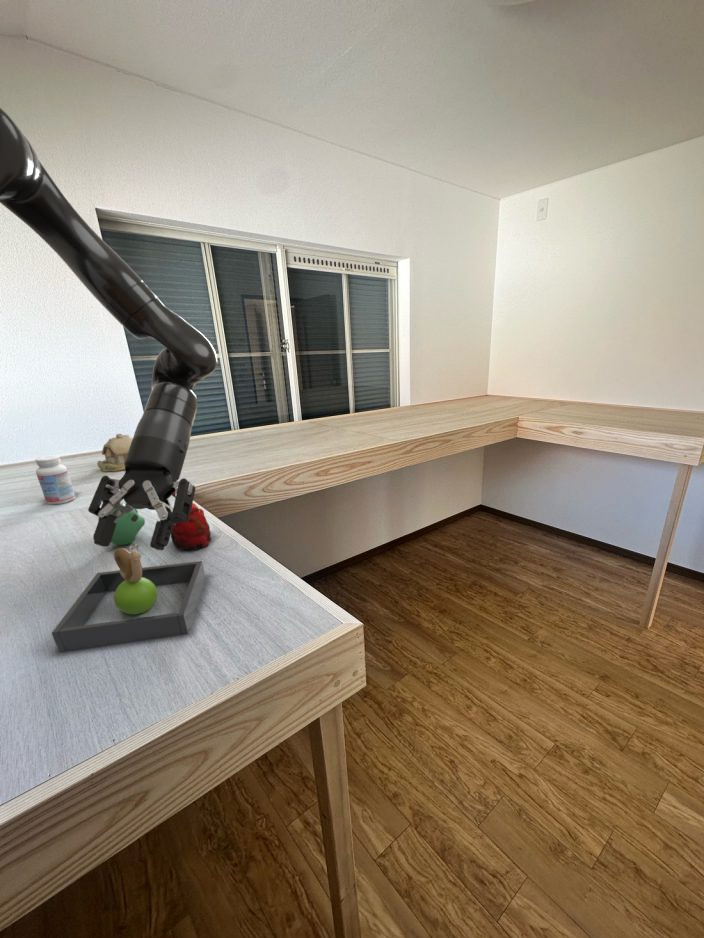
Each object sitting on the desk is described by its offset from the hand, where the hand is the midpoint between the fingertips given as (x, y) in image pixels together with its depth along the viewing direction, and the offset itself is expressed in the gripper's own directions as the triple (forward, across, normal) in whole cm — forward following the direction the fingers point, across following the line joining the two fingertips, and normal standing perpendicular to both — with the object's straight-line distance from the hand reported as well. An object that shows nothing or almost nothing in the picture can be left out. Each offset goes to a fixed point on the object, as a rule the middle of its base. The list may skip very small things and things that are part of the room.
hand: (128, 547), depth 58 cm
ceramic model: (-41, -55, +56) cm, 89 cm away
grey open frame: (+8, 0, +7) cm, 11 cm away
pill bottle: (-20, -51, +36) cm, 65 cm away
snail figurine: (+8, 0, +7) cm, 11 cm away
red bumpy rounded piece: (-7, -5, +23) cm, 24 cm away
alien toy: (-6, -18, +22) cm, 29 cm away
